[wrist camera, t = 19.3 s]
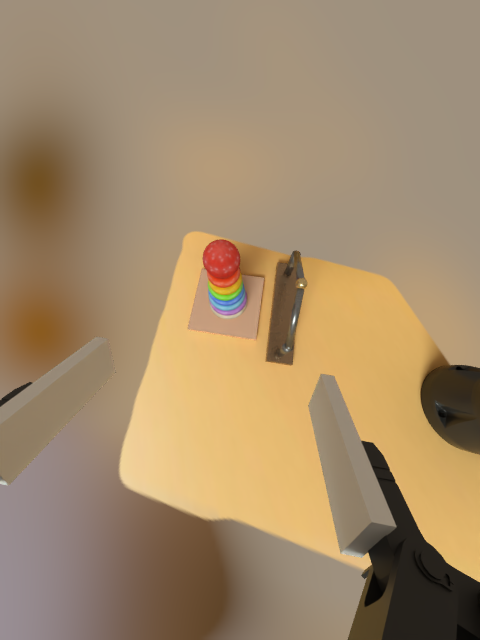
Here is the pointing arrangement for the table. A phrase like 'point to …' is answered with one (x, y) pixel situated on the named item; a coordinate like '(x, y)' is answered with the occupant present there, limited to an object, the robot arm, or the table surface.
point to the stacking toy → (224, 279)
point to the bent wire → (285, 310)
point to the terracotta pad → (236, 327)
